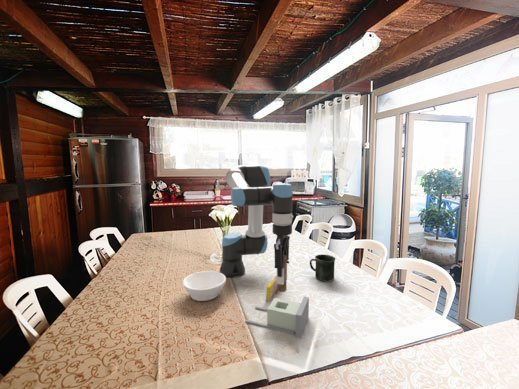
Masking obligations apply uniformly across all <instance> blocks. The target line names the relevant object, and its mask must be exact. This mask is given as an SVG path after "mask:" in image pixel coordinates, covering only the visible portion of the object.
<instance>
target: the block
mask: <svg viewBox="0 0 519 389" xmlns="http://www.w3.org/2000/svg"><path fill="white" fill-rule="evenodd" d="M300 304H301V302H299V301H292V300H288V299H287V300H286V299H282V298H279V297H278V298H277V297H273V299H272V301H271V303H270V304H269V306H268V307H267V311H266V313H267V314H266V316H267V317H266V319H267V320H266V322H267V323H266V324H267V325H271V326H275V327H279V328H283V329H287V330H291V331H294V333H296V313H297V311H298V309H299V306H300Z"/></svg>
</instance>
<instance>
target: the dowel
mask: <svg viewBox="0 0 519 389" xmlns="http://www.w3.org/2000/svg"><path fill="white" fill-rule="evenodd" d="M283 268H284V285H282V284H277V290H278V293H279V292H280V293H285V292H287V280H288V263H287V256H286V255H284V262H283Z"/></svg>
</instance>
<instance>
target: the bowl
mask: <svg viewBox="0 0 519 389" xmlns="http://www.w3.org/2000/svg"><path fill="white" fill-rule="evenodd" d="M226 281H227V277H225V275H224V274H222V273H220V271H215V270H214V271H213V270H202V271H197V272H194V273H191V274H189V275H187V276H186V277H184V279H183V280H182V285H183V287H184V289H185V291H186V292H188V293H189V295H190V297H191V299H193V300H194V301H198V302H199V301H200V302H206V301H211V300H213V299H216V298H217V297H218V296H219V294H220V291H221V290H222V289H223V288H224V285H225V284H226Z"/></svg>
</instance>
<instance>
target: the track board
mask: <svg viewBox="0 0 519 389" xmlns="http://www.w3.org/2000/svg"><path fill="white" fill-rule="evenodd" d="M309 301H310V297H309V296H304V295H303V298H302V300H301V302H300V303H301V304H300V306H299V309H298V311H297V313H296V332H294V331H291V330H287V329H283V328H279V327H275V326H271V325H267V323H262V322H258V321H254V320H249V319H245V322H244V323H247V324H250V325H254V326H257V327H258V326H259V327H262V328H266V329H270V330H274V331H279V332H282V333H285V334H291V335H295V336H294V337H295V338H297V339H301V338H302V336H303V335H304V334H303V333H304V331H305V328H306V325H307V322H308V320H309V306H310V305H309V303H310V302H309ZM267 309H268V307H262V306H255V310H260V311H264V312H267Z"/></svg>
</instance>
